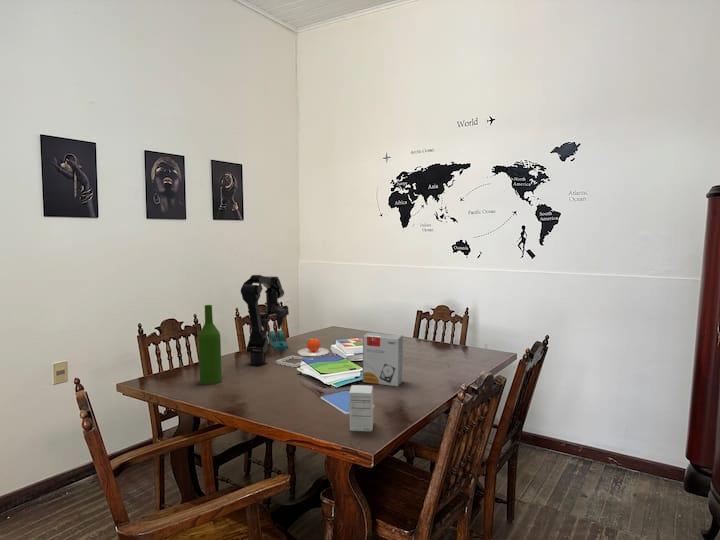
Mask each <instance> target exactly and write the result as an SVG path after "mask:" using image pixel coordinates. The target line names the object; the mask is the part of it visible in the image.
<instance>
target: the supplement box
mask: <svg viewBox="0 0 720 540" xmlns="http://www.w3.org/2000/svg"><path fill="white" fill-rule="evenodd" d="M373 405H374V385H361V384H360V385H355V384H351V386H350V389H349V413H350V414H349V431H351V432H373V427H374V408H373Z"/></svg>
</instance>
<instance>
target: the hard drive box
mask: <svg viewBox="0 0 720 540" xmlns="http://www.w3.org/2000/svg"><path fill="white" fill-rule="evenodd" d="M403 337H404V336H403V335H402V334H390V333H381V332H367V333H365V334H363V336H362V383H367V384H371V385H372V384H376V385H383V386H384V385H386V386H391V387H399V385H400V384H402V382H403V354H404V353H403V352H404V351H403V349H404V348H403V345H404V344H403V343H404V342H403V339H404V338H403Z"/></svg>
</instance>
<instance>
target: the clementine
mask: <svg viewBox="0 0 720 540" xmlns="http://www.w3.org/2000/svg"><path fill="white" fill-rule="evenodd" d="M306 342H307V343H306ZM304 344H306V348H308V349H309V350H310V351H312V352H315V351H317V350H318V349H319V348H321V342H320V340H319V339H318V338H316V337H311V338H308V339H307V341H305V343H304Z"/></svg>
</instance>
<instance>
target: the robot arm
mask: <svg viewBox="0 0 720 540" xmlns="http://www.w3.org/2000/svg"><path fill="white" fill-rule="evenodd" d="M263 287H265V288H266V290H265V291H264V293H265V300H266V301H265V302H264V305H265V306H266V310H264V312H260V307H259V300H260V297H261V293H262V291H263ZM240 295H241V296H242V297H241V298H242V300H243V301H244V302H245V304H246V305H247V309H248V310H247V311H248V316H249V323H250V329H251V333H250V335H249V337H248V338H249V339H248V343H247V345H246V352H247V353H249V357H250V362H248V365H250V366H255V367H259V366H262V365H266V364H268V362H266V352H267V351H268V347H269V336H268V323H269V321H270V319H269V317H274V316H275V320H276V321H275V322H276V325H277V330H281V329H282V328H281V327H282V324H283V321H284V320H285V318H286V317H288V315H290V313H289V306H288V305H282V306H281V303H280V302H279V301H278V300H279V299H281V298H283V296H284V295H285V291H284V289H283V286H282V283H281V281H280V278H279V276H275V275H274V276H272V275H271V276H267V275H265V276H263V275H262V274H253V275H252V274H251V276H250V277H249V279H247V280H246V281H245V282H244V283H243V284H242V286H241V288H240Z"/></svg>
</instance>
